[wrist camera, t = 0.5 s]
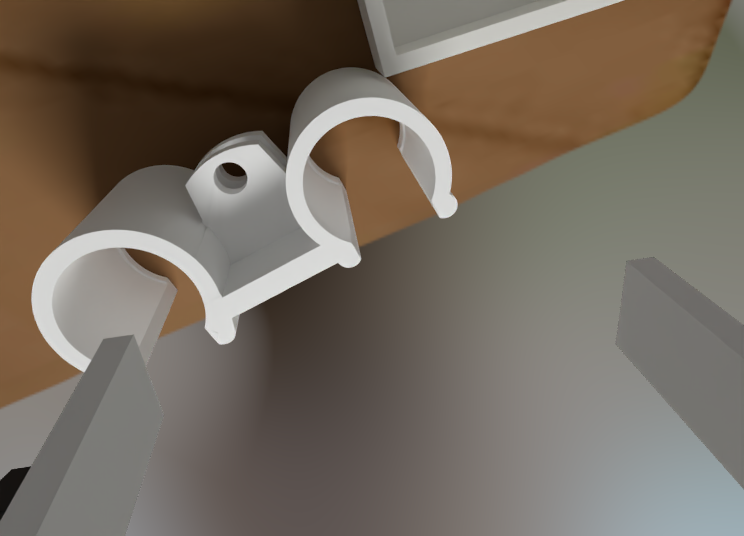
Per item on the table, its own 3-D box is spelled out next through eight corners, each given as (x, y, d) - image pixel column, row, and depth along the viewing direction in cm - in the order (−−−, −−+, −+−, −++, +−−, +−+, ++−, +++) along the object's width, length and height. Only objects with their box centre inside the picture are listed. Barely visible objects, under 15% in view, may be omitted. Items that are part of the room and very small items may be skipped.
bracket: (373, 33, 37) (402, 49, 26) (432, 157, 41) (477, 214, 30) (72, 207, 40) (-14, 285, 29) (156, 305, 44) (109, 405, 33)
